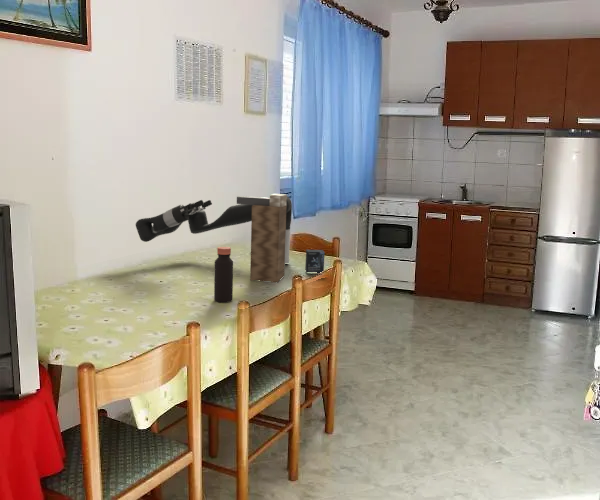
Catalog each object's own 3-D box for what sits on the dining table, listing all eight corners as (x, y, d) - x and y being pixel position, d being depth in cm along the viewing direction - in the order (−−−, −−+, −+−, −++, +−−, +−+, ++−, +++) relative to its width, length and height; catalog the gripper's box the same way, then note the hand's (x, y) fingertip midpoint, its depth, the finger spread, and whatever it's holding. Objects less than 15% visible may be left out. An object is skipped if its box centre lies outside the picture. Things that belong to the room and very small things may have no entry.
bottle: (229, 303, 235) (230, 250, 231) (211, 301, 236) (212, 248, 232) (234, 299, 241) (235, 246, 238) (217, 297, 242) (218, 245, 239)
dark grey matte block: (236, 203, 273) (236, 196, 272) (239, 202, 277) (239, 196, 276) (279, 206, 269) (279, 199, 268) (282, 205, 273) (282, 198, 272)
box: (306, 274, 288) (307, 251, 286) (304, 272, 294) (305, 249, 292) (323, 274, 289) (324, 251, 288) (321, 272, 295) (322, 249, 293)
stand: (250, 280, 273) (252, 194, 266) (258, 274, 284) (260, 192, 278) (278, 282, 270) (281, 196, 264) (285, 276, 282) (287, 193, 275)
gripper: (165, 208, 276) (197, 193, 272) (180, 208, 290) (210, 194, 286) (171, 224, 276) (203, 210, 272) (186, 223, 290) (216, 209, 285)
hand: (207, 202), depth 279 cm, fingers open, 8 cm apart
